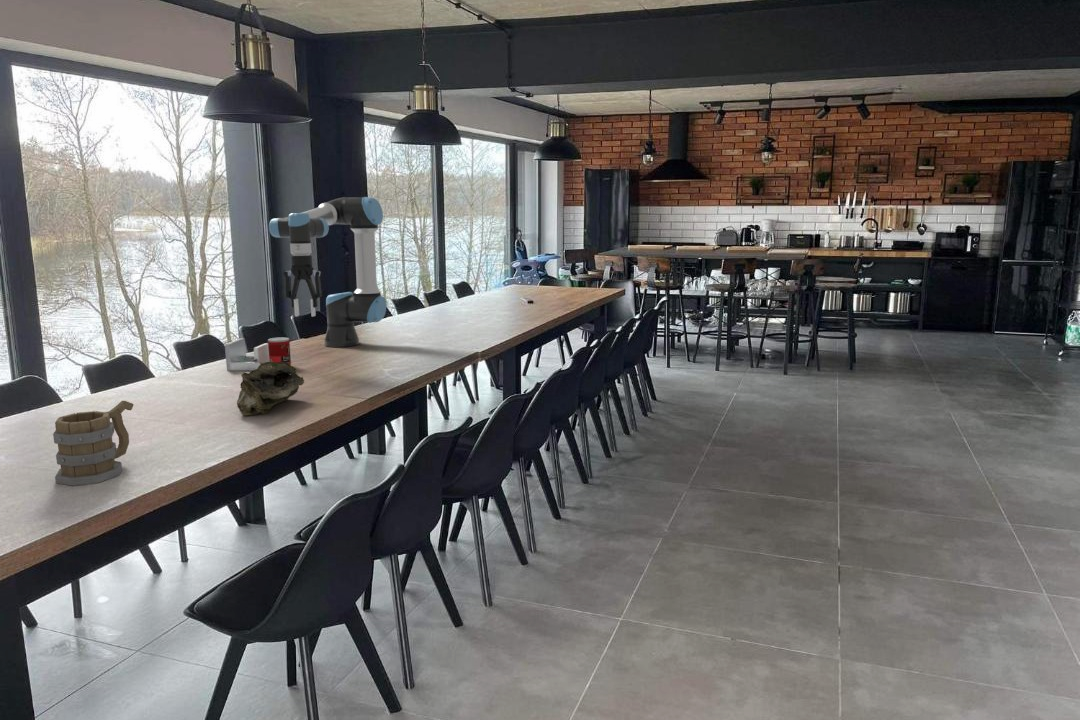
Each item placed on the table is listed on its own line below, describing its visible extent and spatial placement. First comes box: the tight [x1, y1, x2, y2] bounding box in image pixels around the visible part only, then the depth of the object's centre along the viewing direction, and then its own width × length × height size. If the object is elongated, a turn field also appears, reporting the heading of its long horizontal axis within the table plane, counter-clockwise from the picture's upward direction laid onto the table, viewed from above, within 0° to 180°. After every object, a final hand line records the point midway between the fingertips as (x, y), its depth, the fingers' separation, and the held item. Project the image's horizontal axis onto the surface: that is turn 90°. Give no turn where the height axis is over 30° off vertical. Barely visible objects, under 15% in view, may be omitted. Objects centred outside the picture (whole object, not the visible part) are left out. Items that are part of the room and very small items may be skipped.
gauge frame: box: [224, 337, 262, 371], centre depth 296 cm, size 14×13×10 cm
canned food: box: [267, 336, 292, 366], centre depth 296 cm, size 8×8×11 cm
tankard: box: [52, 400, 134, 487], centre depth 178 cm, size 20×13×15 cm, turn 158°
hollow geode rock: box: [236, 362, 305, 416], centre depth 236 cm, size 28×13×15 cm
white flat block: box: [253, 342, 270, 363], centre depth 295 cm, size 13×2×8 cm, turn 177°
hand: (305, 315), depth 292 cm, fingers open, 6 cm apart
